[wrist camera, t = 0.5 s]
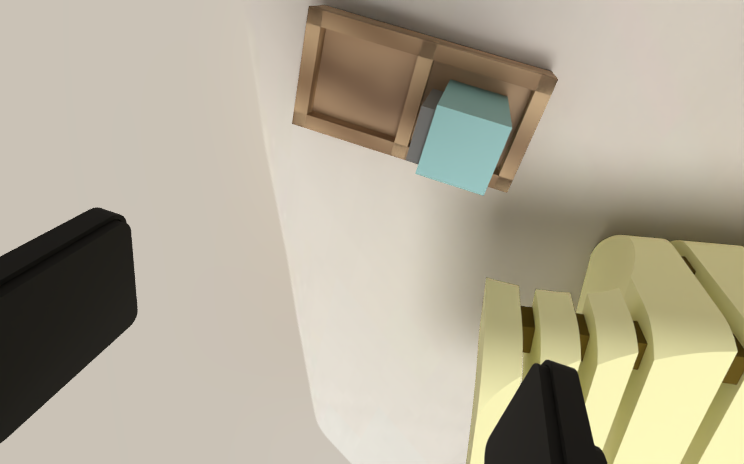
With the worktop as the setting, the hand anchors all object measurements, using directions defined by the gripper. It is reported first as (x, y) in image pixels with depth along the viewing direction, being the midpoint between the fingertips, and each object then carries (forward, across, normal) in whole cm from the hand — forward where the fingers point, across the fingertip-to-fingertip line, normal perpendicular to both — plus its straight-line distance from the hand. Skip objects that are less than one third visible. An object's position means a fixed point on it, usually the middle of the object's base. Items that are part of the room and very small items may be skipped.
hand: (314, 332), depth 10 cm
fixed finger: (+24, -2, 0) cm, 24 cm away
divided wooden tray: (+26, +1, 0) cm, 26 cm away
